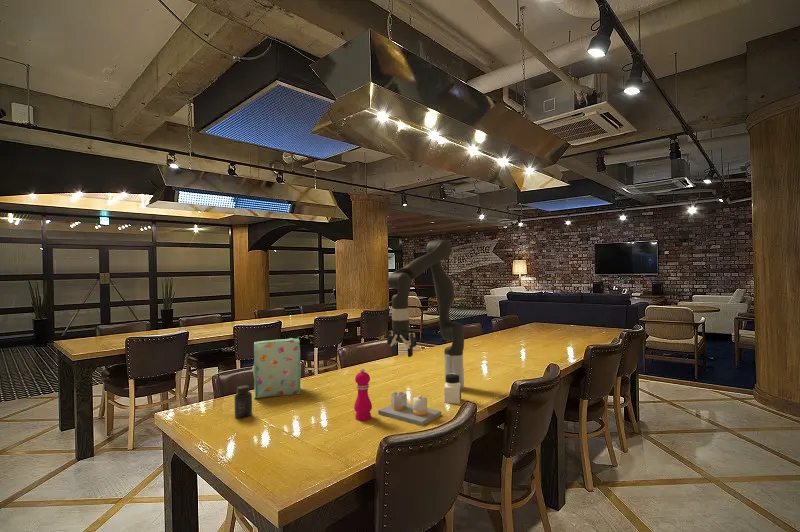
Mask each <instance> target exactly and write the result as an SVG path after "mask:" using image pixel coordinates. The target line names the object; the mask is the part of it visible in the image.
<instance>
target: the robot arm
mask: <svg viewBox="0 0 800 532" xmlns="http://www.w3.org/2000/svg"><path fill="white" fill-rule="evenodd" d="M452 252H453V251H452V245H451V243H450V241H448V240H446V239H438V240H437V239H435V240H430V241H428V243H427V245H426V254H424V255H422V256H419V257H417V258H414V259H413V260H412V261H410V262H409V263H408V264H407V265H405V266H403V267H401V268H399V269H397V270H395V271H393V272H391V273H390V275H389V276H388V278H387V285H388V287H390V288H391V289H393V290H397V294H394V295H393V296H392V297H391V321H392V323H391V327H392V330H388V331H387V332H386V333H387V336H386V339H387V340H386V341H387V342H386V343H387V345H388V346H390V347H391V348H390V349H391V355H392V356H395V355H397V343H399V342H401V343H404V345H406V347H407V357H408V358H411V357H413V354H414V353H413V352H414V350H413V349H414V348H415V347H417V346H418V345H417V334H416V332H410V329H411V327H410V311H409V295H410V290H411V287H412V280H414V279H416V278H417V277H419V276H420V275H422V274H423V273H424V272H425V271H427V269H429V268H430V269H431V270H430V271H431V273H432V281H433V286H434V293H435V298H436V301H437V303H436V304H437V308H438V309H437V310H438V317H439V331H440V335H441V337H442V339H443V340H446V341H452V344H451V345H450V346H447V347H445V348H444V350H443V351H444V352H443V353H444V384H445V383H446V375H447V374H451V373H454V374H457V375H459V383H460V384H461V391H463V390H464V389H465V372H464V371H465V369H464V348H465V327H464V324H462V323H461V322H459V321H458V322H456V321H451V318H450V310H451V308H452V305H453V304H454V299H455V289H454V284H453V281H452V280H451V278H450V276H449V275H448V274H447V273H446V271H445V269H444V268H443V265H442V261H443V260H446V259H448V258H449V257H450V256H451V253H452Z"/></svg>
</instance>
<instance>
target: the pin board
mask: <svg viewBox="0 0 800 532" xmlns="http://www.w3.org/2000/svg"><path fill="white" fill-rule="evenodd" d="M396 392H397V395H401V394H400V392H401V391H396ZM412 400H413V403H408V402H407V408H406V409H404V410H402V411H399V410H393V409H392V407H391V404H390V405H387V406H385V407H383V408H381V409H378V410H377V411H378V412H377V413H378V415H380V416H384V417H388V418H389V417H390V418H392V419H395V420H399V421H402V422H406V423H411V424H414V425H418V426H424V425H427V424H428V423H430V422H431V421H433V420H435V419H436V418H438V417H440V416H442V411H441V410H439V409H438V410H437V409H434V408H429V407H428V398H427V396H423V395H421V394H419V395H418V396H415V397H413V399H412Z"/></svg>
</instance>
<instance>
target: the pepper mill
mask: <svg viewBox="0 0 800 532" xmlns="http://www.w3.org/2000/svg"><path fill="white" fill-rule="evenodd" d="M370 380H371V376H370V374H369V373H368V372H366V371H365V368H363V367H362V368H361V369H360V372H358V373H357V374H356V375H355V378H354V382H355V383H356V389H357V396H356V398H355V402H354V405H353V410H354V411H355V415H354V417H355V419H356V420H357V421H361V422H364V421H368V420H370V419H371V418H372V413H371V411H372V410H373V406H372V401H371V399H370V396H369V388H370V385H369V382H370Z"/></svg>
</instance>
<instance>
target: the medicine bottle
mask: <svg viewBox="0 0 800 532" xmlns="http://www.w3.org/2000/svg"><path fill="white" fill-rule="evenodd" d="M443 393H444V394H443V397H444V398H443V399H444V400H443V401H444V403H445V404H459V405H460V404H461V401H462V390H461V384H460V383H459V375H457V374H454V373H451V374H447V375H446V383H445V382H444V387H443Z"/></svg>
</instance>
